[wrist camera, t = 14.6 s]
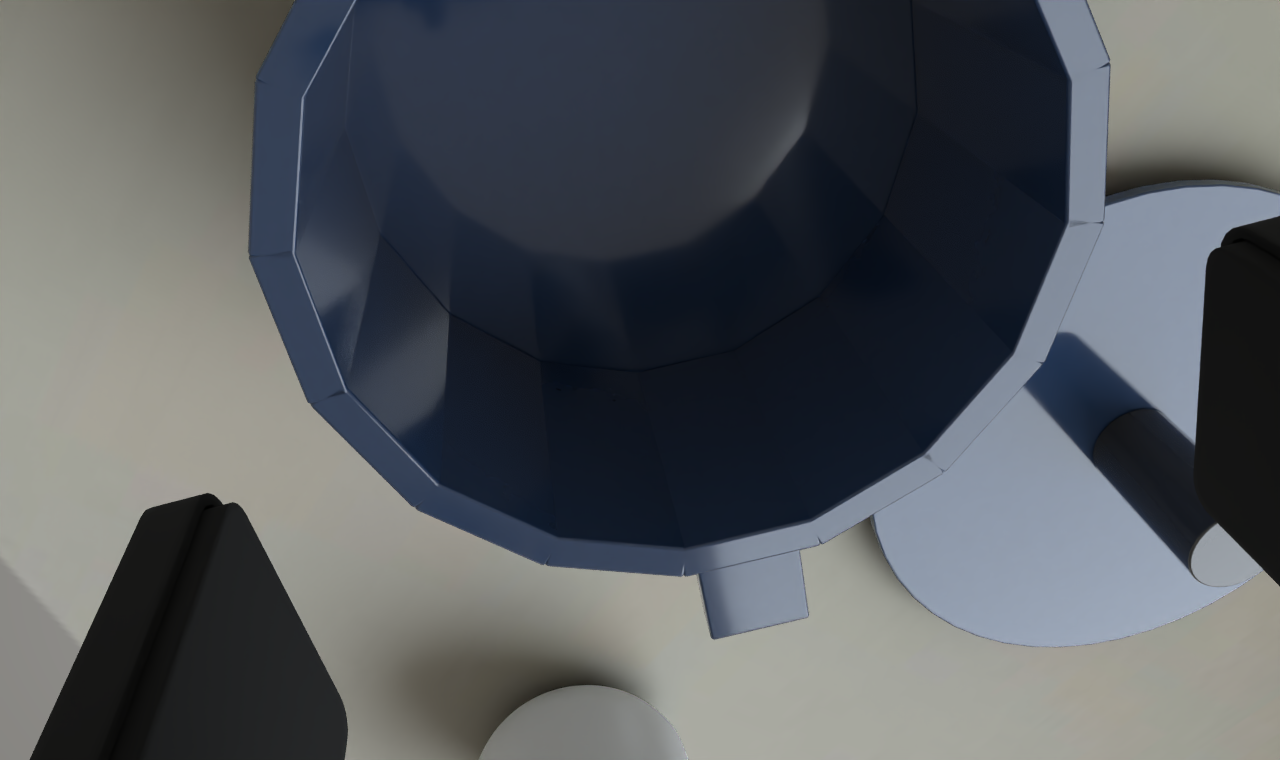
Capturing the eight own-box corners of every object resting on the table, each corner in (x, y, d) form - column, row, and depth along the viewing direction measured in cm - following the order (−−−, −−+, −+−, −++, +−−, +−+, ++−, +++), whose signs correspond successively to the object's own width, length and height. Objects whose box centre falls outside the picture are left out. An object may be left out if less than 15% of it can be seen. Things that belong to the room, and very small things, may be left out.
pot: (915, -471, 22) (1139, -599, 14) (952, 393, 32) (1091, 574, 25) (162, -310, 21) (-4, -357, 14) (448, 510, 32) (439, 728, 25)
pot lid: (1413, 113, 30) (1622, 188, 24) (1328, 564, 38) (1471, 695, 33) (835, 245, 29) (916, 351, 24) (878, 671, 38) (945, 822, 32)
